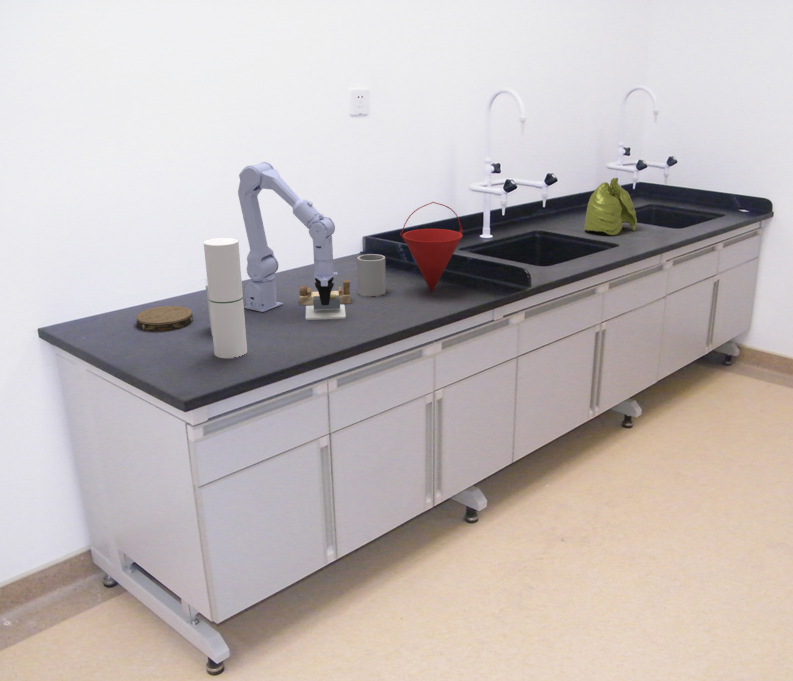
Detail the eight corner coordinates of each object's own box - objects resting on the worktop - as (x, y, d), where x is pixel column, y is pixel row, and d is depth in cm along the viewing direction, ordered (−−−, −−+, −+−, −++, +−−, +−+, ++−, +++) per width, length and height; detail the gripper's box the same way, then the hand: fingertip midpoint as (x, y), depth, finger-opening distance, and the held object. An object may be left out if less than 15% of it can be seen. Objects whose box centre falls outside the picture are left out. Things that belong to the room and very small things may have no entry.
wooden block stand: (299, 305, 240) (298, 285, 238) (300, 299, 246) (299, 280, 243) (350, 303, 241) (350, 283, 239) (349, 297, 247) (349, 278, 245)
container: (218, 346, 206) (208, 237, 195) (250, 346, 205) (241, 237, 195) (210, 358, 198) (199, 245, 187) (243, 358, 197) (234, 245, 187)
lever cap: (313, 309, 229) (313, 297, 228) (313, 305, 233) (313, 294, 232) (340, 308, 230) (339, 297, 229) (339, 304, 234) (339, 293, 233)
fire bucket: (450, 280, 265) (452, 194, 255) (473, 296, 248) (475, 204, 237) (392, 286, 259) (391, 198, 249) (410, 302, 242) (410, 208, 231)
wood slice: (164, 312, 235) (163, 303, 234) (204, 319, 228) (203, 310, 227) (125, 327, 222) (124, 318, 221) (166, 336, 215) (165, 326, 214)
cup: (353, 294, 250) (352, 259, 246) (366, 287, 258) (365, 253, 254) (377, 298, 247) (377, 262, 242) (390, 290, 254) (389, 255, 250)
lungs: (605, 238, 326) (611, 181, 317) (577, 232, 337) (582, 177, 329) (642, 230, 340) (648, 176, 331) (614, 225, 351) (619, 172, 343)
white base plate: (305, 320, 226) (305, 318, 226) (306, 307, 237) (306, 305, 237) (345, 318, 227) (345, 316, 227) (344, 306, 238) (344, 304, 238)
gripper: (337, 264, 220) (338, 309, 225) (336, 252, 234) (337, 295, 238) (312, 265, 219) (315, 310, 224) (313, 253, 233) (315, 296, 238)
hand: (325, 302), depth 231 cm, fingers closed on lever cap, 4 cm apart
